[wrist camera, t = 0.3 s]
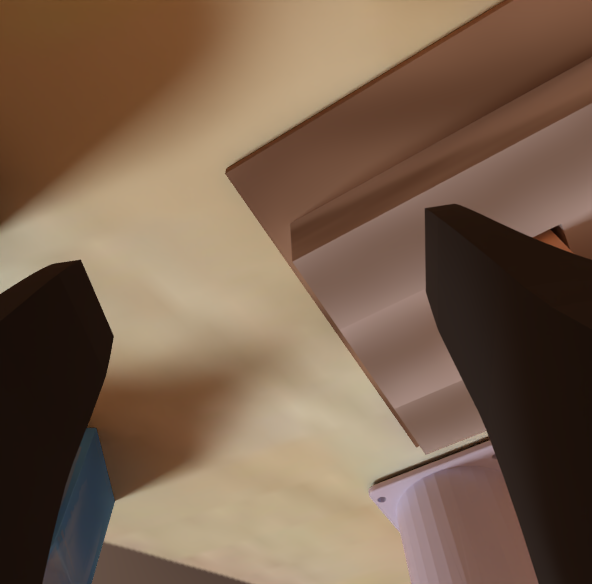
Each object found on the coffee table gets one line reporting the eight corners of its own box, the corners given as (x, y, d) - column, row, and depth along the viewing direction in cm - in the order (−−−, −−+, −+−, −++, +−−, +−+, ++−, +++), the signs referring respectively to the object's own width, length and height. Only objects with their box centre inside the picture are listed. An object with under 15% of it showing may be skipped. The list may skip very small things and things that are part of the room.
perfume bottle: (6, 502, 30) (-125, 775, 20) (-27, 428, 27) (-203, 713, 17) (115, 500, 31) (38, 769, 21) (96, 427, 27) (-6, 706, 17)
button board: (682, 332, 25) (735, 382, 22) (414, 440, 29) (430, 496, 26) (598, -57, 16) (670, -57, 13) (226, 168, 20) (218, 207, 17)
